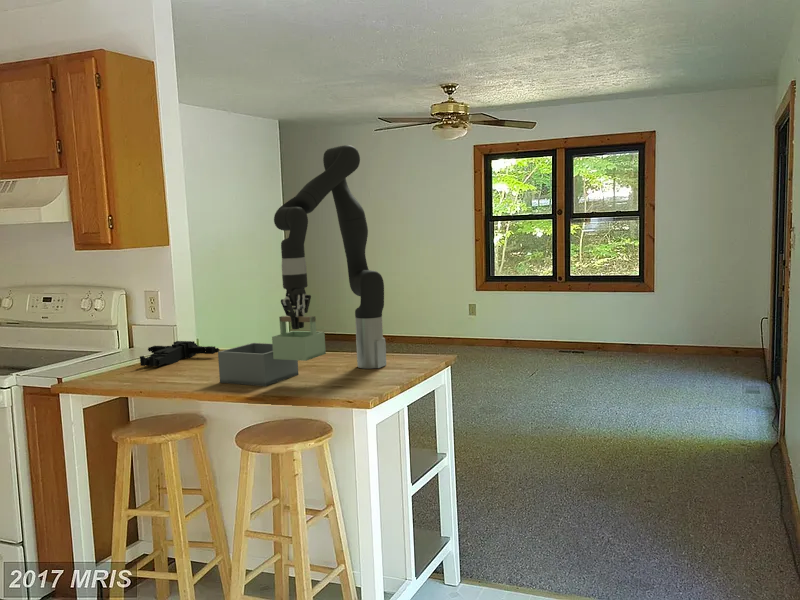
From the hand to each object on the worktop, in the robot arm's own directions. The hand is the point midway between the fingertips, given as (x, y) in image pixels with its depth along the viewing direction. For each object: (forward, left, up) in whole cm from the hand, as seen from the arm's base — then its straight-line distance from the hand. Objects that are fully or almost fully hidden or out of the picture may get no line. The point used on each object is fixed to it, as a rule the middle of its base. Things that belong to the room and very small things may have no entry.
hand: (298, 328), depth 222 cm
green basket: (0, 0, -9) cm, 9 cm away
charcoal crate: (+18, -3, -18) cm, 25 cm away
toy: (+72, -19, -18) cm, 77 cm away
